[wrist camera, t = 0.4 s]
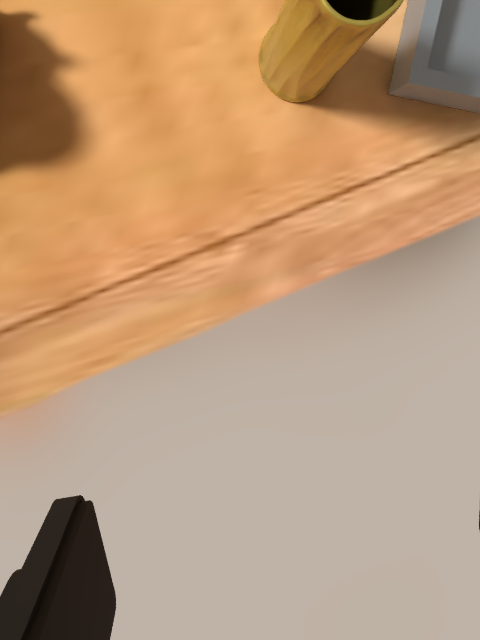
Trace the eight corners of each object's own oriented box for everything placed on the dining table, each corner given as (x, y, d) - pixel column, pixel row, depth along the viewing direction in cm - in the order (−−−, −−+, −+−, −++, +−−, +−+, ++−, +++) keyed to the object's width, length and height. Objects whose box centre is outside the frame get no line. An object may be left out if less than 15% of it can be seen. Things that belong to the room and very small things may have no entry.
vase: (348, 50, 35) (449, -52, 21) (305, 119, 36) (374, 63, 22) (287, -1, 34) (352, -146, 20) (243, 71, 34) (276, -19, 21)
